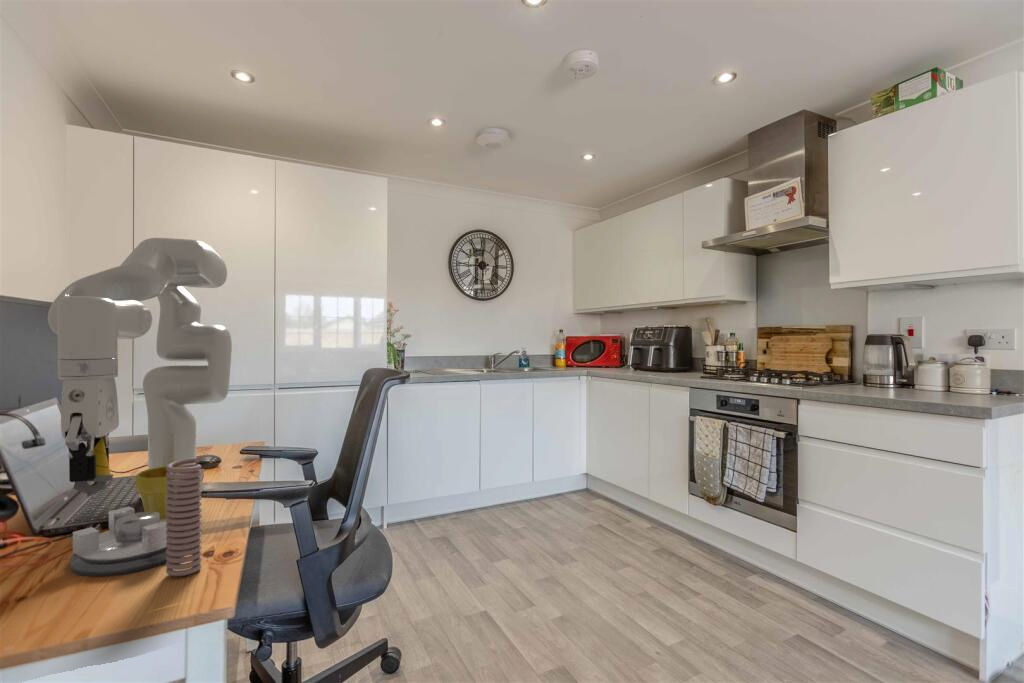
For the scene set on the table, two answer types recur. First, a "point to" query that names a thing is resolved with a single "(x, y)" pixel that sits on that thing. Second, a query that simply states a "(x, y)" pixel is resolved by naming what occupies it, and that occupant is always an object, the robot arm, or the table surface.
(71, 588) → the table surface
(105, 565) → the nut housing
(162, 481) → the plant pot
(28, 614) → the table surface
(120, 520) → the steel lathe chuck
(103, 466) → the stepped yellow cone
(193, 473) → the coil
